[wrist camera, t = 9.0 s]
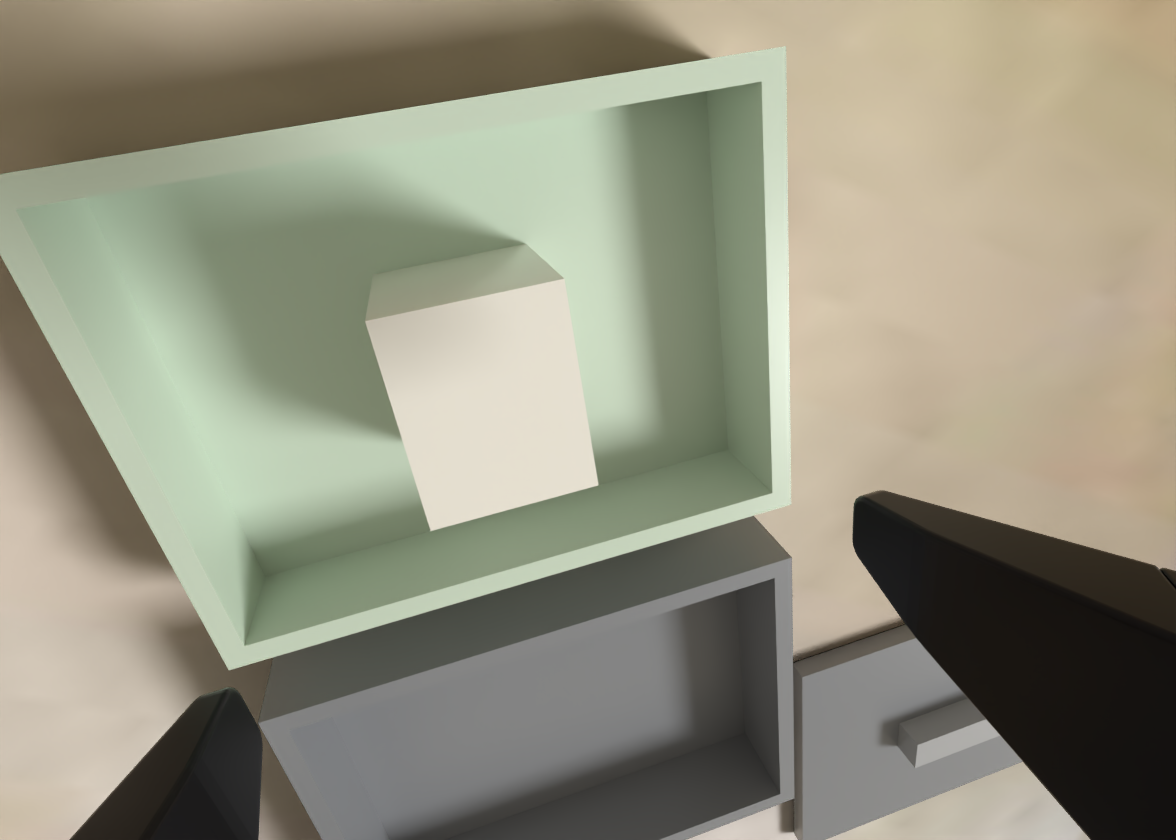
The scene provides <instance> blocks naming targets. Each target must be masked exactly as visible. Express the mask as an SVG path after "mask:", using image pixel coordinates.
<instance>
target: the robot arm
mask: <svg viewBox="0 0 1176 840" xmlns="http://www.w3.org/2000/svg"><path fill="white" fill-rule="evenodd" d="M853 546H854V549H855V552H856V554H857V556H858V557H859V559H860V560H861V562H862V563H863V565H864V566H865V567H866V569H867V570H868V572H869V573H870V574H871V576H872V577H873V579H874V580H875V582H876V583H877V584H878V586H879V587H880V589H881V590H882V591H883V593H884V594H885V596H886V597H887V599H888V600H889V601H890V603H891V604H892V606H893V607H894V608H895V610H896V611H897V613H898V614H899V616H900V617H901V618H902V620H903V621H904V623H905V624H906V625H907V627H908V628H909V629H910V631H911V632H912V633H913V635H914V636H915V637H916V639H917V640H918V641H919V642H920V643H921V645H922V646H923V647H924V648H925V649H926V651H927V652H928V653H929V654H930V655H931V656H932V658H933V659H934V660H935V661H936V662H937V663H938V664H939V666H940V667H941V668H942V669H943V670H944V671H945V672H946V674H947V675H948V676H949V677H950V678H951V679H952V681H953V682H954V683H955V684H956V685H957V686H958V687H959V689H960V690H961V691H962V692H963V693H964V694H965V696H966V697H967V698H968V699H969V700H970V701H971V702H972V704H973V705H974V706H975V707H976V708H977V709H978V711H979V712H980V713H981V714H982V715H983V716H984V717H985V719H986V720H987V721H988V722H989V723H990V724H991V725H992V727H993V728H994V729H995V730H996V731H997V732H998V734H999V735H1000V736H1001V737H1002V738H1003V739H1004V740H1005V742H1006V743H1007V744H1008V745H1009V746H1010V747H1011V749H1012V750H1013V751H1014V752H1015V753H1016V754H1017V755H1018V757H1019V758H1020V759H1021V760H1022V761H1023V762H1024V764H1025V765H1026V766H1027V767H1028V768H1029V769H1030V770H1031V772H1032V773H1033V774H1034V775H1035V776H1036V777H1037V778H1038V780H1039V781H1040V782H1041V783H1042V784H1043V785H1044V787H1045V788H1046V789H1047V790H1048V791H1049V792H1050V793H1051V795H1052V796H1053V797H1054V798H1055V799H1056V800H1057V802H1058V803H1059V804H1060V805H1061V806H1062V807H1063V808H1064V810H1065V811H1066V812H1067V813H1068V814H1069V815H1070V817H1071V818H1072V819H1073V820H1074V821H1075V822H1076V823H1077V825H1078V826H1079V827H1080V828H1081V829H1082V830H1083V832H1084V833H1085V834H1086V835H1087V836H1088V837H1089V838H1090V840H1176V571H1174V570H1170V569H1167V568H1161V569H1158V567H1156V566H1155V565H1152V564H1148V563H1144V562H1141V561H1137V560H1133V559H1130V558H1126V557H1123V556H1119V555H1115V554H1112V553H1108V552H1104V551H1101V550H1097V549H1094V548H1090V547H1086V546H1083V545H1079V544H1076V543H1072V542H1068V541H1065V540H1061V539H1057V538H1054V537H1050V536H1047V535H1043V534H1039V533H1036V532H1032V531H1029V530H1025V529H1021V528H1018V527H1014V526H1010V525H1007V524H1003V523H1000V522H996V521H992V520H989V519H985V518H981V517H978V516H974V515H971V514H967V513H963V512H960V511H956V510H953V509H949V508H945V507H942V506H938V505H934V504H931V503H927V502H924V501H920V500H916V499H913V498H909V497H906V496H902V495H898V494H895V493H891V492H888V491H881V490H880V491H875V492H872V493H869V494H865V495H862V496H860V497H858V498H857V499H856V500H855V503H854V511H853ZM261 770H262V737H261V733H260V730H259V728H258V726H257V724H256V722H255V720H254V718H253V717H252V715H251V713H250V711H249V709H248V708H247V706H246V704H245V702H244V700H243V699H242V697H241V695H240V694H239V692H238V691H237V690H236V689H234V688H230V687H229V688H224V689H221V690H218V691H214V692H211V693H208V694H204V695H202V696H200V697H198V698H197V699H196V700H195V701H194V702H193V703H192V704H191V705H190V706H189V707H188V708H187V709H186V711H185V712H184V713H183V714H182V715H181V716H180V717H179V718H178V719H177V721H176V722H175V723H174V724H173V725H172V726H171V727H170V728H169V729H168V731H167V732H166V733H165V734H164V735H163V736H162V737H161V738H160V739H159V741H158V742H157V743H156V744H155V745H154V746H153V747H152V748H151V749H150V751H149V752H148V753H147V754H146V755H145V756H144V757H143V758H142V759H141V761H140V762H139V763H138V764H137V765H136V766H135V767H134V768H133V770H132V771H131V772H130V773H129V774H128V775H127V776H126V777H125V778H124V780H123V781H122V782H121V783H120V784H119V785H118V786H117V787H116V788H115V790H114V791H113V792H112V793H111V794H110V795H109V796H108V797H107V798H106V800H105V801H104V802H103V803H102V804H101V805H100V806H99V807H98V808H97V810H96V811H95V812H94V813H93V814H92V815H91V816H90V817H89V818H88V820H87V821H86V822H85V823H84V824H83V825H82V826H81V827H80V829H79V830H78V831H77V832H76V833H75V834H74V835H73V836H72V837H71V839H70V840H258V835H259V813H260V791H261Z"/></svg>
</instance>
